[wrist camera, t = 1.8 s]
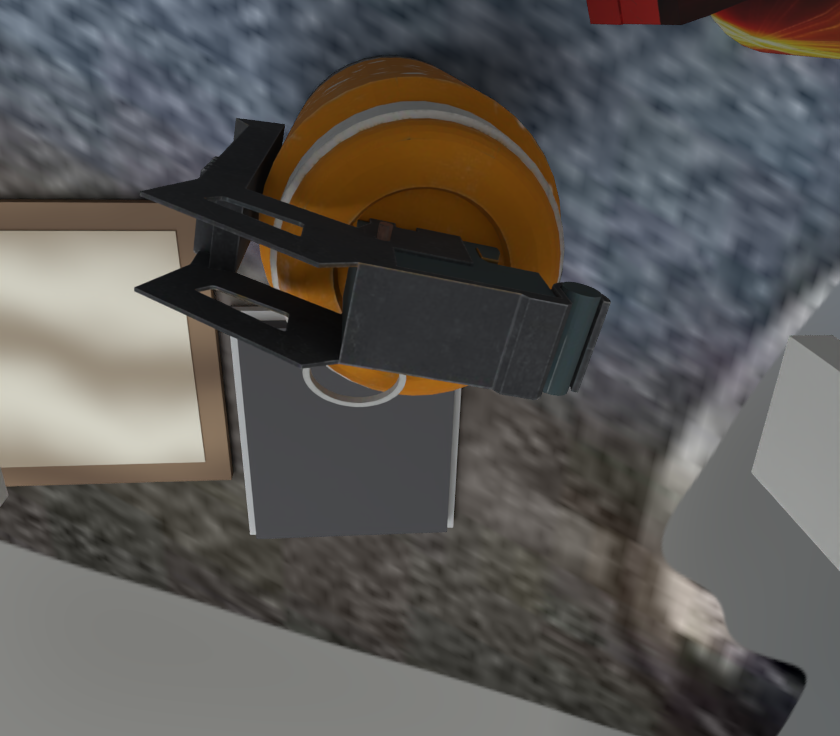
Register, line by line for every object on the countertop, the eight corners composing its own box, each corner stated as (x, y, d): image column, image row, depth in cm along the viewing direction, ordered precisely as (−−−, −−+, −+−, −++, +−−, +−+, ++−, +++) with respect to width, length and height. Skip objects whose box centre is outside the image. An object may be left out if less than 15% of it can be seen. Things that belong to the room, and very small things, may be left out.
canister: (460, 272, 35) (575, 539, 17) (232, 228, 33) (93, 476, 15) (510, 81, 31) (727, 167, 13) (257, 18, 29) (110, 20, 11)
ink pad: (229, 306, 35) (224, 318, 33) (464, 304, 36) (468, 316, 34) (251, 527, 41) (247, 546, 39) (451, 520, 42) (455, 538, 40)
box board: (-100, 198, 31) (-109, 202, 30) (203, 200, 32) (200, 203, 32) (-16, 480, 38) (-22, 488, 37) (233, 473, 39) (231, 480, 38)
